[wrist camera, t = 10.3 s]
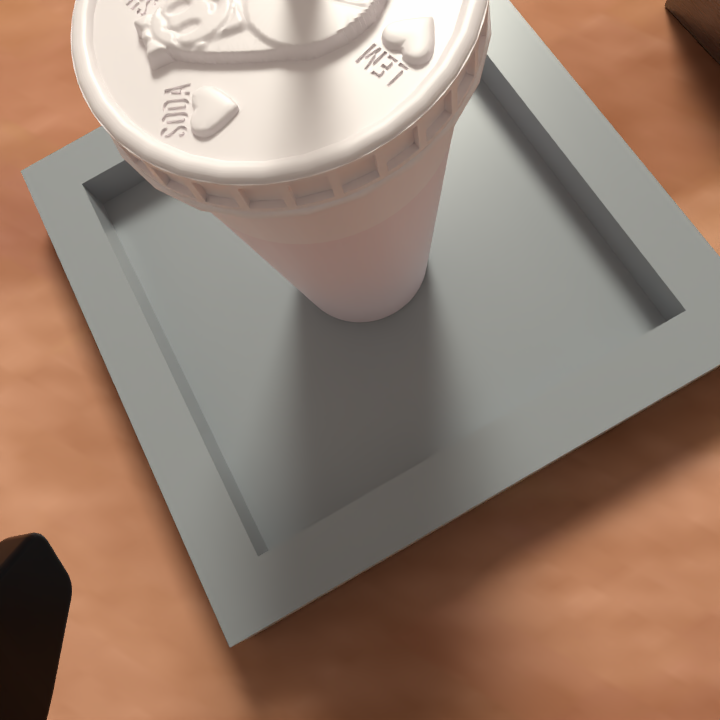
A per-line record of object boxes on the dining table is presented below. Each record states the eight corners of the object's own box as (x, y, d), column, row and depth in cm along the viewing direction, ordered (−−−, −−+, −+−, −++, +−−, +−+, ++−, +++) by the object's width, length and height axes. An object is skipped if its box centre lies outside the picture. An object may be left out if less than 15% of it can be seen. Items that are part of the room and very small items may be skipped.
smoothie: (516, 310, 18) (702, -412, 4) (300, 407, 18) (-177, 4, 4) (418, 129, 20) (335, -762, 6) (224, 217, 20) (-268, -466, 6)
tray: (746, 350, 17) (779, 329, 15) (252, 637, 17) (229, 647, 15) (451, -21, 22) (451, -70, 20) (55, 200, 21) (20, 171, 20)
